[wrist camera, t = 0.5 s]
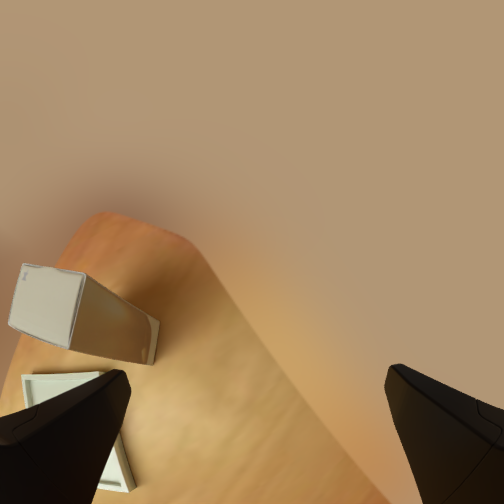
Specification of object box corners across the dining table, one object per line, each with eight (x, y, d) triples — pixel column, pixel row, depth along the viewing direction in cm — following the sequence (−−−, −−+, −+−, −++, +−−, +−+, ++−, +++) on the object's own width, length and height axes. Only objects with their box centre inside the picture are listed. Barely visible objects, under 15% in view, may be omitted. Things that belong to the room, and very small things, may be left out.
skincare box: (99, 352, 22) (3, 324, 11) (106, 310, 24) (19, 260, 13) (157, 367, 22) (67, 352, 10) (164, 320, 23) (85, 270, 12)
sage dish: (136, 487, 16) (129, 492, 15) (51, 472, 16) (42, 474, 14) (107, 372, 21) (98, 371, 20) (30, 376, 21) (21, 374, 19)
